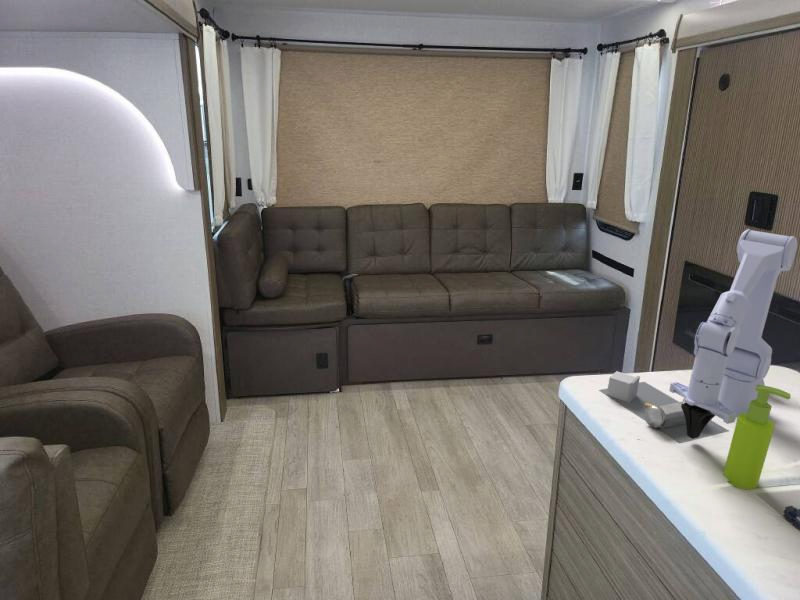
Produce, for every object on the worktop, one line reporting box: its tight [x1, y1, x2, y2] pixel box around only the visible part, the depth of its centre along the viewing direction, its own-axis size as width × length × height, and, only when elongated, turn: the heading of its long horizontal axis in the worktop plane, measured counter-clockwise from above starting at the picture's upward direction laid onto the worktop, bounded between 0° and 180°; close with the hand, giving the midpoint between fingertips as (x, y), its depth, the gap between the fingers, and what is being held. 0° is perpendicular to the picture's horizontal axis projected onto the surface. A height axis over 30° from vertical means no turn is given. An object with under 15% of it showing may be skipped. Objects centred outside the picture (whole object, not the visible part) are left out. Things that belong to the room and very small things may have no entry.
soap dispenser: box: [723, 385, 791, 491], centre depth 106 cm, size 6×7×20 cm
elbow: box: [644, 397, 686, 429], centre depth 128 cm, size 14×5×5 cm, turn 113°
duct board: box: [598, 370, 730, 444], centre depth 133 cm, size 15×25×6 cm, turn 23°
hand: (692, 436), depth 121 cm, fingers closed
